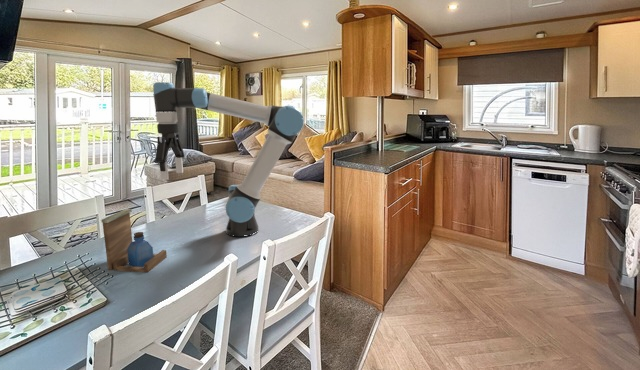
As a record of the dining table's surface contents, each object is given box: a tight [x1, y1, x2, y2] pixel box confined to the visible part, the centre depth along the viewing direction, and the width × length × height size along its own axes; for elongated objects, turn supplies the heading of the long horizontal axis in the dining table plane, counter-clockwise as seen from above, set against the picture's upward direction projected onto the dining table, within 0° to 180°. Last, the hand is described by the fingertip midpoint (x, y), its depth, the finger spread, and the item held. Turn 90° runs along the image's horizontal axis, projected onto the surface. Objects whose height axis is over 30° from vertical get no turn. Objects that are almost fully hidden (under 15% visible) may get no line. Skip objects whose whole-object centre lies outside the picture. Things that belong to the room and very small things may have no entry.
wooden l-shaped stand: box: [100, 208, 168, 273], centre depth 125 cm, size 15×14×19 cm
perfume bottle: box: [127, 231, 154, 267], centre depth 125 cm, size 6×6×12 cm
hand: (172, 175), depth 138 cm, fingers open, 13 cm apart
